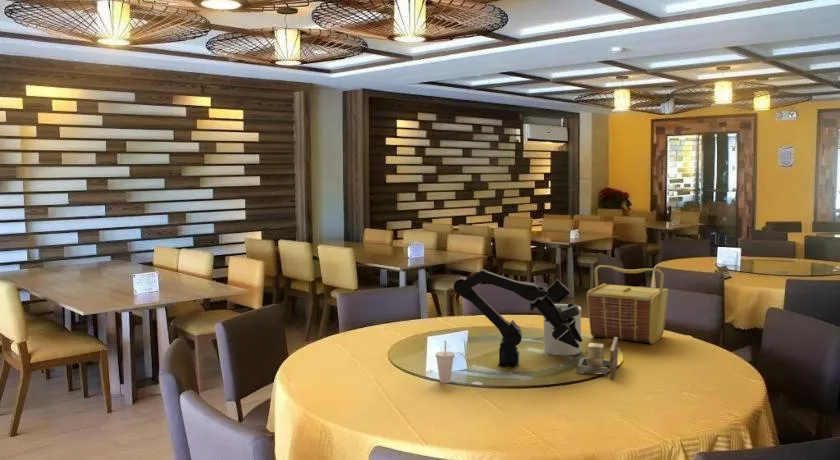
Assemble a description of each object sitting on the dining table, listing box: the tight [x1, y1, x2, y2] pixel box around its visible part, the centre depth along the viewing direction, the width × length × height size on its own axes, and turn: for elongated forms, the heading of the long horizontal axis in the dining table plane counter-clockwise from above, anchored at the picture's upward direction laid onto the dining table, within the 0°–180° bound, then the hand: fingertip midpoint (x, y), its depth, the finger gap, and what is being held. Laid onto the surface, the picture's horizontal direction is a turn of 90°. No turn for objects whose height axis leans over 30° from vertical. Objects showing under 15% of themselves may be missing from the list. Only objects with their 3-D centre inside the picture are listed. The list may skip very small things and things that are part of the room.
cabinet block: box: [585, 342, 605, 367], centre depth 255 cm, size 6×5×9 cm
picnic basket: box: [586, 264, 669, 345], centre depth 301 cm, size 29×26×30 cm
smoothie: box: [435, 340, 455, 384], centre depth 243 cm, size 6×6×14 cm
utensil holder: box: [543, 303, 582, 357], centre depth 280 cm, size 15×15×18 cm
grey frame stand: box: [576, 337, 619, 380], centre depth 254 cm, size 13×20×10 cm, turn 161°
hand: (580, 344), depth 256 cm, fingers open, 9 cm apart
